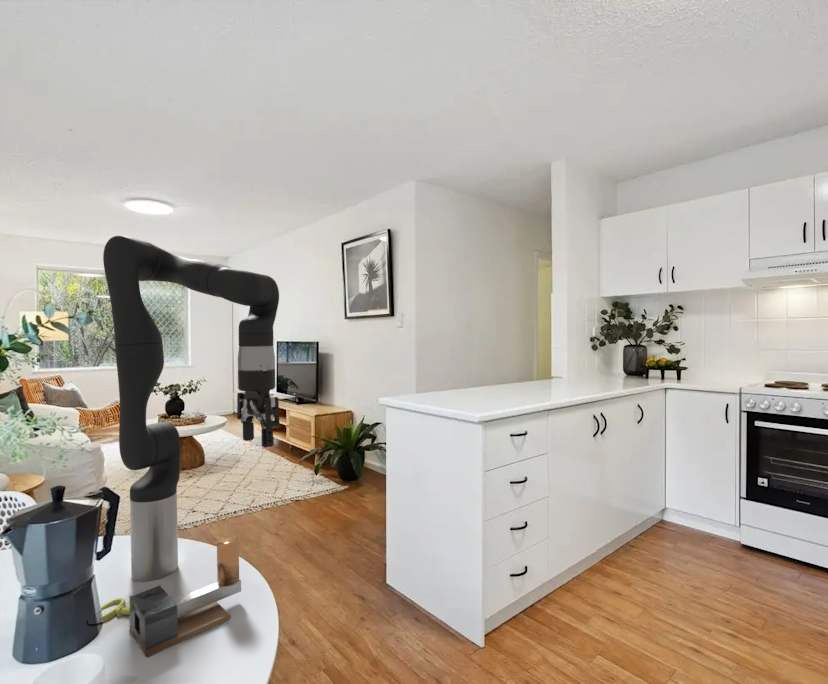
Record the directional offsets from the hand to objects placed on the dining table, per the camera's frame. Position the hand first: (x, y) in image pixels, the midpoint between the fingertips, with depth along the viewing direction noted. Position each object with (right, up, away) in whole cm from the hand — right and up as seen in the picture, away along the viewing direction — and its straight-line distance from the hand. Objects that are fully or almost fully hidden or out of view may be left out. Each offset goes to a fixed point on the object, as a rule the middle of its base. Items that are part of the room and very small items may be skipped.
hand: (257, 443), depth 99 cm
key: (-23, -31, -10) cm, 40 cm away
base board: (-10, -30, -14) cm, 35 cm away
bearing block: (-13, -31, -17) cm, 37 cm away
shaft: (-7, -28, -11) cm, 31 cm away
